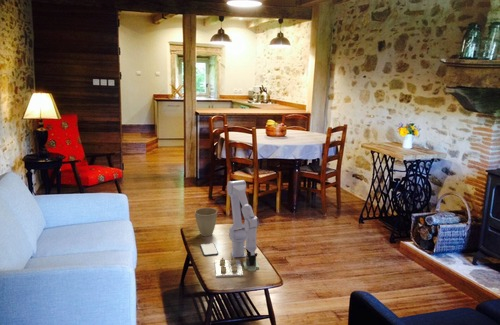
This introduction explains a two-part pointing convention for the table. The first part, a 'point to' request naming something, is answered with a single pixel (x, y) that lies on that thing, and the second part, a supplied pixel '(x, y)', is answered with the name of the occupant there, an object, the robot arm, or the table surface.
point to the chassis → (228, 268)
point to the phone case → (209, 249)
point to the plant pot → (206, 220)
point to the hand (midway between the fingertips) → (251, 262)
